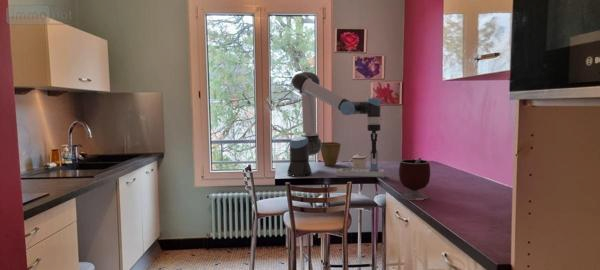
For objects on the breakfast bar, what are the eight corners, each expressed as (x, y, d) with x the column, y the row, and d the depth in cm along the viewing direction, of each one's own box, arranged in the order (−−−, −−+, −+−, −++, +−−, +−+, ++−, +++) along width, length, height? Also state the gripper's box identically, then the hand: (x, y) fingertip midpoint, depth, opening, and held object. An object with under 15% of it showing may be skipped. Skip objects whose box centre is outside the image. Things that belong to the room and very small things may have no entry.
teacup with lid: (363, 169, 252) (363, 151, 251) (368, 171, 243) (368, 153, 242) (346, 169, 250) (346, 152, 249) (350, 172, 241) (350, 154, 240)
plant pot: (323, 167, 261) (323, 144, 260) (317, 164, 275) (317, 142, 274) (343, 166, 265) (343, 143, 263) (336, 163, 279) (336, 141, 278)
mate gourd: (395, 194, 182) (395, 153, 180) (424, 193, 182) (424, 152, 180) (404, 202, 166) (404, 158, 165) (435, 202, 166) (436, 157, 165)
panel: (336, 177, 224) (336, 170, 224) (337, 174, 233) (337, 168, 233) (384, 178, 219) (384, 171, 218) (383, 175, 228) (383, 169, 227)
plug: (370, 171, 222) (370, 148, 221) (370, 170, 226) (370, 148, 225) (377, 171, 222) (377, 148, 221) (377, 170, 226) (377, 148, 224)
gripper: (380, 124, 213) (380, 165, 214) (380, 123, 229) (380, 161, 231) (367, 124, 214) (367, 165, 216) (367, 123, 231) (368, 160, 233)
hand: (374, 163), depth 224 cm, fingers closed on plug, 4 cm apart
